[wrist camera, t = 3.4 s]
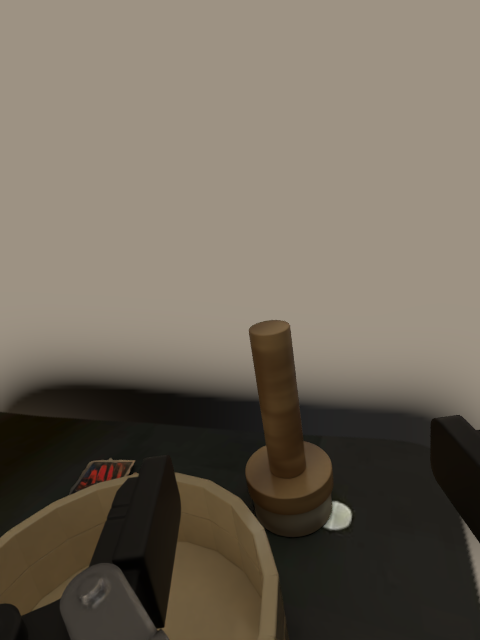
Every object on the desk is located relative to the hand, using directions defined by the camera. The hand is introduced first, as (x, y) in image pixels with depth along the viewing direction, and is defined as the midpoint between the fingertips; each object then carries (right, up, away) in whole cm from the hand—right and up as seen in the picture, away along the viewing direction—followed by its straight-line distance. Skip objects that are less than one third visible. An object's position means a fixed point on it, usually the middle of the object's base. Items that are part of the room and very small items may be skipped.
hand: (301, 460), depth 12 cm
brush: (+1, -7, +13) cm, 15 cm away
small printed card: (-12, -8, +17) cm, 22 cm away
